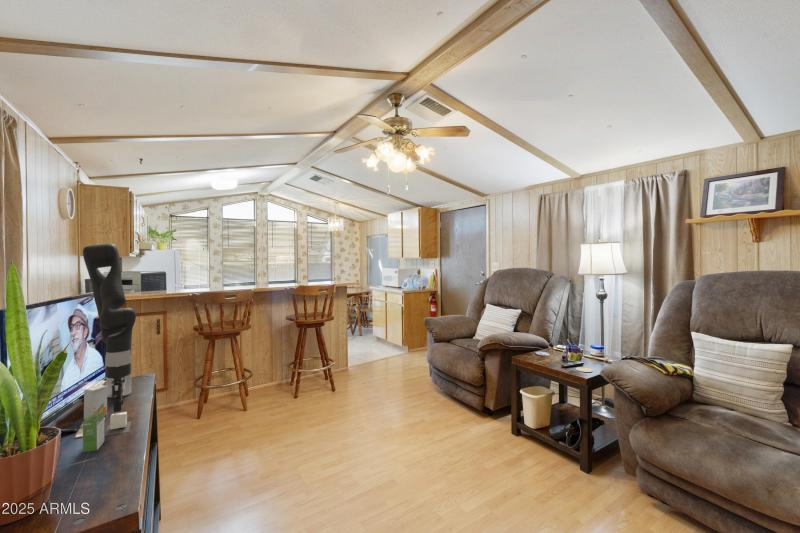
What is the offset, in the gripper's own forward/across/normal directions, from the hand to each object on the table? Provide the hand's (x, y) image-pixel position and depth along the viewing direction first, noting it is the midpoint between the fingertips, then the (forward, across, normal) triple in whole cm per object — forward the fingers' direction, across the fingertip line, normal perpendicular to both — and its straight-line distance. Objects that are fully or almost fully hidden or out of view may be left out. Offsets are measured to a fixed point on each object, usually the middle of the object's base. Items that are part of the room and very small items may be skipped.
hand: (118, 408), depth 135 cm
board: (+8, -5, -8) cm, 12 cm away
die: (+7, 0, 0) cm, 7 cm away
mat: (+8, 0, 0) cm, 8 cm away
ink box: (+8, +12, -6) cm, 16 cm away
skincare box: (+8, -16, -8) cm, 20 cm away
